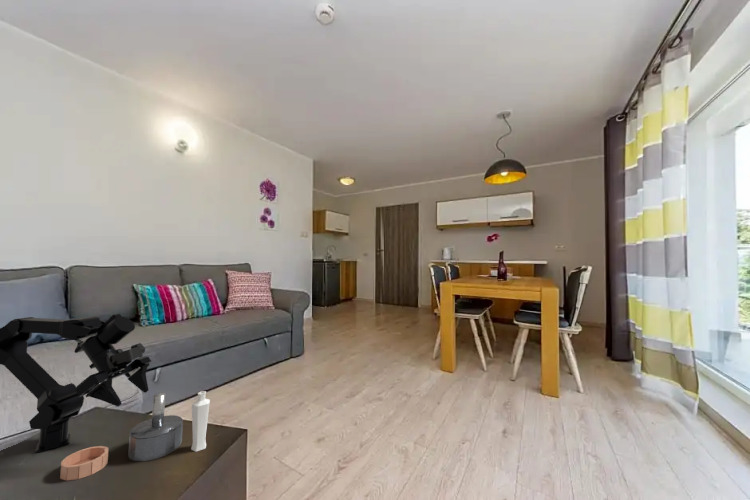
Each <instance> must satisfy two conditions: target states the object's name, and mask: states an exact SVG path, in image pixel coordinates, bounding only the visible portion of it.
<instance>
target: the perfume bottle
mask: <svg viewBox="0 0 750 500" xmlns="http://www.w3.org/2000/svg"><path fill="white" fill-rule="evenodd" d="M206 394H207V391H203V390H202V391H200V392H197V400H196V401H194V402H192V404H191V419H192V420H191V421H192V422H191V424H192V425H191V427H192V428H191V429H192V444H191V447H190V450H191V451H193V452H199V451H201V450H202V451H203V450H205V449H206V448H207V442H206V438H207V437H206V435H207V429H208V428H207V427H208V420H209V411H210V410H209V409H210V404H211V403H210V401H211V399H209V398H206Z"/></svg>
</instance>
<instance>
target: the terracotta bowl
mask: <svg viewBox="0 0 750 500" xmlns="http://www.w3.org/2000/svg"><path fill="white" fill-rule="evenodd" d="M108 460H109V447H108V446H103V445H99V446H98V445H97V446H90V447H87V448H84V449H80V450H77V451H75V452H73V453H71V454H69V455H67V456H65V458H64V459H63V460H61V462H60V472H59V473H60V474H59V475H60V476H59V479H60V480H63V481H74V480H81V479H82V478H85V477H89V476H92V475H93V474H95V473H98V472H99V471H101V470H103V469H104V468H105V466H107V465H108V463H109V461H108Z"/></svg>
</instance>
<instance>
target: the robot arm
mask: <svg viewBox="0 0 750 500" xmlns="http://www.w3.org/2000/svg"><path fill="white" fill-rule="evenodd" d="M135 327H136V326H135V322H134V321H132V320H130V318H128V317H125V316H122V315H121V313H115V314H112V315H111V316H109V318H108V320H106V321H104V320H101V319H100V317H98V316H88V317H80V318H73V319H62V318H39V317H32V316H30V317H20V318H14V319H13V320H10V321H9V322H7V323H6V324H5V325H4V326H2V327H0V365H2V366H4V367H5V368H6V369H7V370H8V371H9V372H10V373H11V374H12V375H13V376H14V377H15V378H16V379H17V380H18V381H19V382H20V383H21V384H22V385H23V386H24V387H25V388H26V389H27V391H29V392H30V393H31V394H32V395H33V396H34V397H35V398H36V399H37V402H36V411H37V412H38V413H37V414H36V415H34V416H33V417H32V418H31V419H30V420H29V421H28V423H29V428H30V430H39V440H38V442H36V443H37V444H36V447H35V450H34V451H35V452H34V453H35V454H37V453H42V452H46V451H48V450H53V449H57V448H60V447H64V446H68V445H69V444H70V442H71V440H70V439H71V433H69V430H70V429H69V428H70V420H71V418H73V417H75V416H78V415H79V413H80V411H81V409H82V407H83V405H84V401H85V397H86V398H89V397H90V398H93V399H96V400H100V401H102V402H105V403H108V404H109V405H113V406H115V407H120V406H121V405H122V401H121V399H120V397H119V395H118V394H117V392H116V391H115V389H114V387H113V380H114V379H116V378H119V377H121V376H123V375H124V376H125V377H128V378H127V380H128V381H129V382H131V383H132V384H133V385H134V386H135V387H136V388H138V389H139V390H140V391H142V392H143V393H145V394H146V393H148V392H149V385H148V381H147V374H146V373H147V370H148V368H149V367H150V364H151V363H152V362H153V361H152V360H151V358H150V356H146V355H143V354H144V353H145V352H146V348H145V346H144V345H143V344H142V343H141V342H138V343H136V344H133V345H131V346H130V348H129V349H126V350H123V349H121V348H118V349H116V348H115V346H114V345H117V344H118V343H120V342H121V341H122V340H123V339H124V338H126V337H127V336H128V335H130V334H131V332H134V330H135V329H136V328H135ZM32 334H43V335H44V334H45V335H46V334H49V335H50V334H51V335H58V336H60V338H63V339H66V340H70V341H76V340H81V339H85V338H86V339H85V340H84V341H80V342H77V344H76V347H75V348H74V353H75V354H77V353H81V352H84V353H85V355H86V356H87V358H88V359H89V361H90V363H91V364H89V366H88V367H89V368H90V369H96V370H97V372H95V373H93V374H91V375H89V376H88V377H86V378H85V379H84V380H82V381H81V382H80V383H79V384H78V385H76V384H75V383H72V382H71V383H68V384H64V385H62V384H59V383H58V381H56V379H54V378H53V377H52V376H51V375H50V374H49V373H48V372H47V371H46V370H45V368H43V366H41V365H40V364H39V363H38V362H37V361H36V360H35V359H34V358H33V357H32V356H31V355H30V354H29V353H28V346H29V344H28V342H27V341H29V340H30V339H31V338H32ZM84 396H85V397H84Z"/></svg>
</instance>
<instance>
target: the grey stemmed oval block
mask: <svg viewBox="0 0 750 500" xmlns="http://www.w3.org/2000/svg"><path fill="white" fill-rule="evenodd" d="M152 397H153V399H152V413H151V414H152V415H151V418H149V419H146V420H144V421H141V422H139V423H137V424H136V425H134V426H132V428H131V429H130V431H129V440H128V454H127V456H128V459H130V460H131V461H135V462H146V461H152V460H156V459H159V458H162V457H165V456H167V455H170V454H171V453H173V452H174V451H176V450H177V449H179V447H180V446H181V444H182V442H183V429H184V421H183V419H184V418H182V417H181V416H179V415H176V414H175V415H173V414H172V415H171V414H170V415H167V414H166V415H165V407H166V393H165V392H159V393H158V392H157V393H154V395H153V396H152Z"/></svg>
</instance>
